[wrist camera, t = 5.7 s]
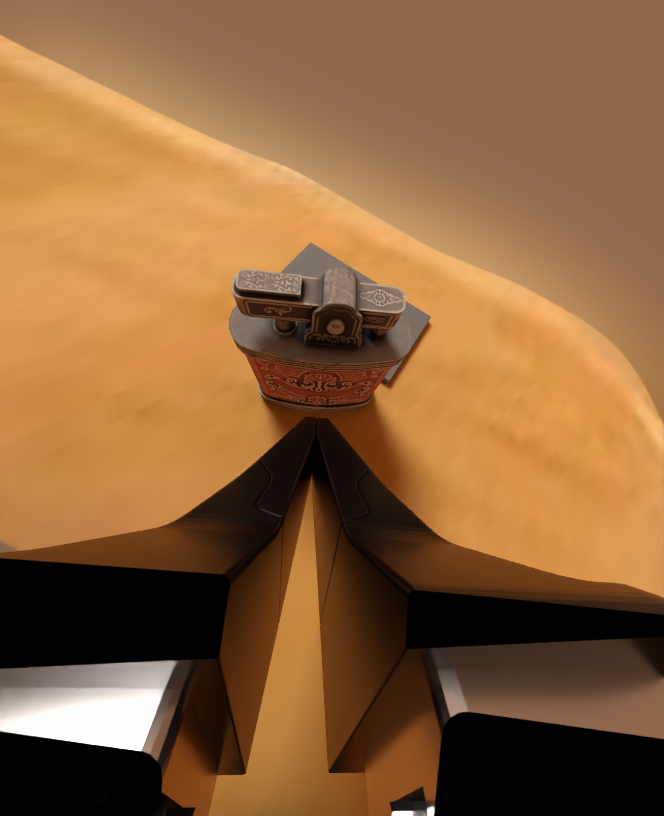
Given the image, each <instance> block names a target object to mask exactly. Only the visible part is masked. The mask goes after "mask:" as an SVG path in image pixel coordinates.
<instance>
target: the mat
mask: <svg viewBox="0 0 664 816" xmlns="http://www.w3.org/2000/svg"><path fill="white" fill-rule="evenodd" d="M335 266H336V267H345V268H349V269H351V270H352V271H354V272H355V274H356V276H357V278H358V279H359V280H360V281H361V282H362V283H369V284H377V283H375V282H374V281H372V280H371V279H369V278H367V277H366V276H364V275H363V274H361V273H359V272H358V271H356V270H354V269H353V268H351V267H350V266H348V265H346V264H345V263H343V262H342V261H340V260H338V259H337V258H335V257H333V256H332V255H330V254H329V253H327V252H325V251H324V250H322V249H320V248H319V247H317V246H316V245H314V244H312V243H310V244H309V245H308V246H307V247H306V248H305V249H304V250H303V251H302V252H301V253H300V254H299V255H298V256H297V257H296V258H295V259H294V260H293V261H292V262H291V263H290V264H289V265H288V266H287V267H286V268H285V269H284V270H283V271H282V272H281V273H287V274H296V275H302V276H304V277H313V278H316V277H317V276H319V275H322V274H323V273H324V271H325V270H327V269H328V268H331V267H335ZM401 315H402V316H403V317H404V318H406V319H407V321H408V323H409V324H410V326H411V328H412V333H413V344H414V342H415V341H416V339H417V338H418V336H419V335H420V333H421V332H422V330H423V329H424V327H425V326H426V324H427V323H428V321H429V320H430V318H431V317H430V316H429V315H427V314H426V313H424V312H422V311H421V310H419V309H417V308H416V307H414V306H413V305H411V304H409V303H408V302H406V304H405V309H404V311H403V312H402V314H401ZM413 344H412V346H413ZM412 346H411V347H412ZM404 358H405V357H404ZM402 361H403V360H402ZM402 361H401V362H402ZM401 362H400V363H398V364H397V365H396V366H393V367H392V368H391V369H390V371H389V372H388V373H387V375H386V376H385V377H384V379H383V381H384V382H386V383H388V382H389V381H390V379H391V378H392V376H393V375H394V373H395V371H396V370H397V368H398V367H399V365H400V364H401Z"/></svg>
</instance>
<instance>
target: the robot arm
mask: <svg viewBox="0 0 664 816" xmlns="http://www.w3.org/2000/svg"><path fill="white" fill-rule="evenodd" d="M311 474H312V492H313V510H314V527H315V545H316V563H317V580H318V598H319V615H320V624H321V625H320V634H321V651H322V669H323V687H324V704H325V722H326V739H327V757H328V772H329V773H359V772H365V777H366V789H367V802H368V814H366V815H365V816H664V598H663V597H660V596H658V595H656V594H653V593H649V592H646V591H643V590H641V589H638V588H635V587H632V586H629V585H625V584H618V583H607V582H592V581H585V580H579V579H574V578H570V577H565V576H561V575H557V574H553V573H549V572H545V571H542V570H538V569H535V568H532V567H528V566H525V565H521V564H518V563H515V562H511V561H508V560H505V559H501V558H498V557H495V556H491V555H488V554H485V553H481V552H478V551H475V550H471V549H468V548H465V547H461V546H458V545H455V544H453V543H451V542H448V541H447V540H445V539H443V538H442V537H440V536H439V535H437V534H436V533H435V532H434V531H433V530H431V529H430V528H429V527H428V526H427V525H426V524H425V523H424V522H423V521H422V520H421V519H420V518H418V517H417V516H416V515H415V514H414V513H413V512H412V511H411V510H410V509H409V508H408V507H407V506H406V505H405V504H404V503H403V502H402V501H400V500H399V499H398V498H397V497H396V496H395V495H394V494H393V493H392V492H391V491H390V490H389V489H388V488H387V487H386V486H385V485H384V483H383V482H382V481H381V480H380V479H379V478H378V477H377V476H376V475H375V473H374V472H373V471H372V470H371V469H370V468H369V466H368V465H367V464H366V463H365V462H364V461H363V459H362V458H361V457H360V456H359V455H358V453H357V452H356V451H355V450H354V449H353V448H352V446H351V445H350V444H349V443H348V442H347V440H346V439H345V438H344V437H343V436H342V435H341V433H340V432H339V431H338V430H337V429H336V428H335V426H334V425H333V424H332V423H331V422H330V420H329V419H326V418H318V419H316V418H315V417H305V418H304V419H303V420H302V421H300V422H299V423H298V424H297V425H296V426H295V427H294V428H293V429H292V430H290V431H289V432H288V433H287V434H286V435H285V436H284V437H283V438H282V439H280V440H279V441H278V442H277V443H276V444H275V445H274V446H273V447H272V448H270V449H269V450H268V451H267V452H266V453H265V454H264V455H263V456H262V457H260V458H259V460H257V461H256V462H255V463H254V464H253V465H251V466H250V467H249V468H248V469H247V470H246V471H244V472H243V473H242V474H241V475H240V476H238V477H237V478H236V479H234V480H233V481H232V482H230V483H229V484H228V485H226V486H225V487H224V488H222V489H221V490H219V491H218V492H216V493H215V494H214V495H212V496H211V497H209V498H208V499H207V500H205V501H204V502H202V503H201V504H199V505H198V506H197V507H195V508H194V509H192V510H191V511H190V512H188V513H187V514H185V515H184V516H182V517H181V518H179V519H177V520H175V521H173V522H171V523H169V524H167V525H164V526H161V527H158V528H153V529H148V530H143V531H137V532H131V533H126V534H120V535H115V536H109V537H103V538H98V539H92V540H87V541H81V542H75V543H70V544H64V545H59V546H53V547H46V548H40V549H33V550H25V551H16V552H7V553H0V816H208V815H209V811H210V806H211V801H212V797H213V792H214V788H215V783H216V778H217V775H243V774H245V773H246V770H247V765H248V760H249V756H250V751H251V747H252V742H253V738H254V733H255V729H256V724H257V720H258V715H259V711H260V706H261V702H262V697H263V693H264V688H265V684H266V679H267V675H268V670H269V666H270V661H271V657H272V652H273V648H274V643H275V639H276V634H277V630H278V623H279V620H280V616H281V611H282V607H283V602H284V598H285V593H286V589H287V584H288V580H289V575H290V571H291V566H292V562H293V557H294V553H295V548H296V544H297V539H298V535H299V530H300V526H301V521H302V517H303V512H304V508H305V503H306V499H307V494H308V490H309V485H310V481H311Z"/></svg>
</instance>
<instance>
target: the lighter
mask: <svg viewBox="0 0 664 816" xmlns="http://www.w3.org/2000/svg"><path fill="white" fill-rule="evenodd" d="M232 293H233V295H234V298H235V300H236V303H237V306H236V307H235V308H234V309H233V310H232V313H231V315H230V318H229V330H230V332H231V335H232V337H233V339H234V341H235V343H236V345H237V347H238V348H239V349H240V350H241V351H242V352H243V353H244V354H245V355H246V357H247V359H248V361H249V363H250V365H251V368H252V370H253V372H254V374H255V376H256V378H257V380H258V389H259V391H260V393H261V395H262V397H263V398H264V399H265V400H266V401H267V402H269V403H271V404H275V405H279V406H283V407H287V408H291V409H297V410H305V411H313V412H339V411H347V410H355V409H361V408H363V407H365V406H366V405H367V404H368V403H369V402H370V400H371V399H372V397H373V395H374V391H375V389H376V388H377V387H378V385H379V384H380V383H381V381H382V380H383V379H384V377H385V376H386V375H387V373H388V372H389V371H390V369H391V368H392V367H393V366H396V365H397V364H398V363H400V362H401V361H402V360H403V359H404V357H405V356H406V355H407V354H408V352H409V351H410V349H411V346H412V344H413V333H412V328H411V326H410V324H409V323H408V321H407V319H406V318H404V317H403V316H402V315H401V314H402V312H403V311H404V309H405V304H406V301H405V295H404V292H403V291H402V290H401V289H400V288H398V287H394V286H388V285H379V284H369V283H362V282H361V281H360V280H359V279H358V278H357V276H356V274H355V272H354V271H352V270H351V269H349V268H345V267H336V266H335V267H331V268H328V269H327V270H325V271H324V273H323V274H322V275H319V276H317V277H316V278H313V277H304V276H302V275H296V274H287V273H277V272H268V271H259V270H249V269H242V270H239V271H238V273H237V274H236V275H234V278H233V281H232Z"/></svg>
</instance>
